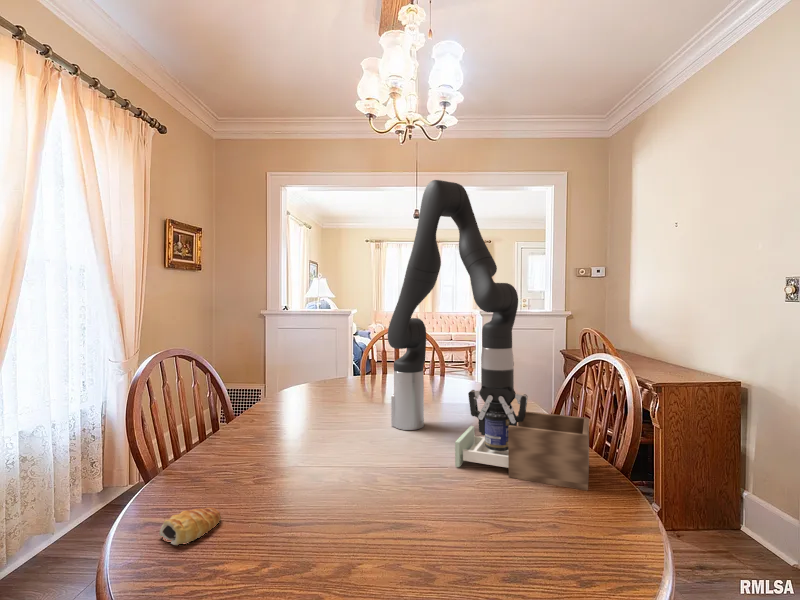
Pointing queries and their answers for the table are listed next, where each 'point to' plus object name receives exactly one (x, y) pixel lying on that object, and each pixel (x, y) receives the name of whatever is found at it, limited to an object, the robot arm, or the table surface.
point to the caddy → (550, 450)
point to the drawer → (477, 451)
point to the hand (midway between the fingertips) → (497, 436)
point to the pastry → (189, 525)
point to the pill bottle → (496, 427)
